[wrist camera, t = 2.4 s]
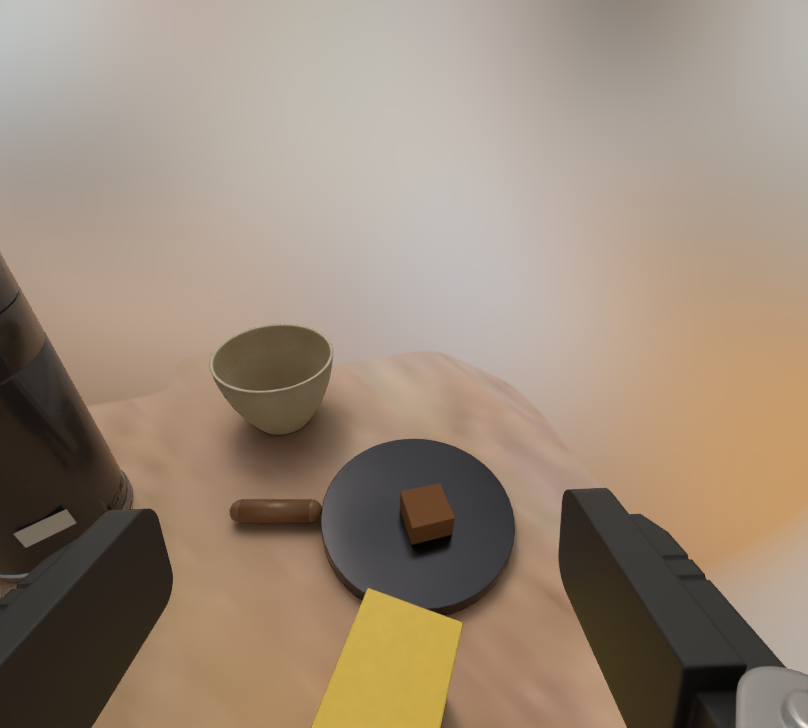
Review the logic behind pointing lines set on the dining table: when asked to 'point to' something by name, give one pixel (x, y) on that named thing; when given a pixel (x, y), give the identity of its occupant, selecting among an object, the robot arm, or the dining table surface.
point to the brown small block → (426, 513)
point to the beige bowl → (274, 375)
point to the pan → (386, 532)
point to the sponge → (391, 668)
